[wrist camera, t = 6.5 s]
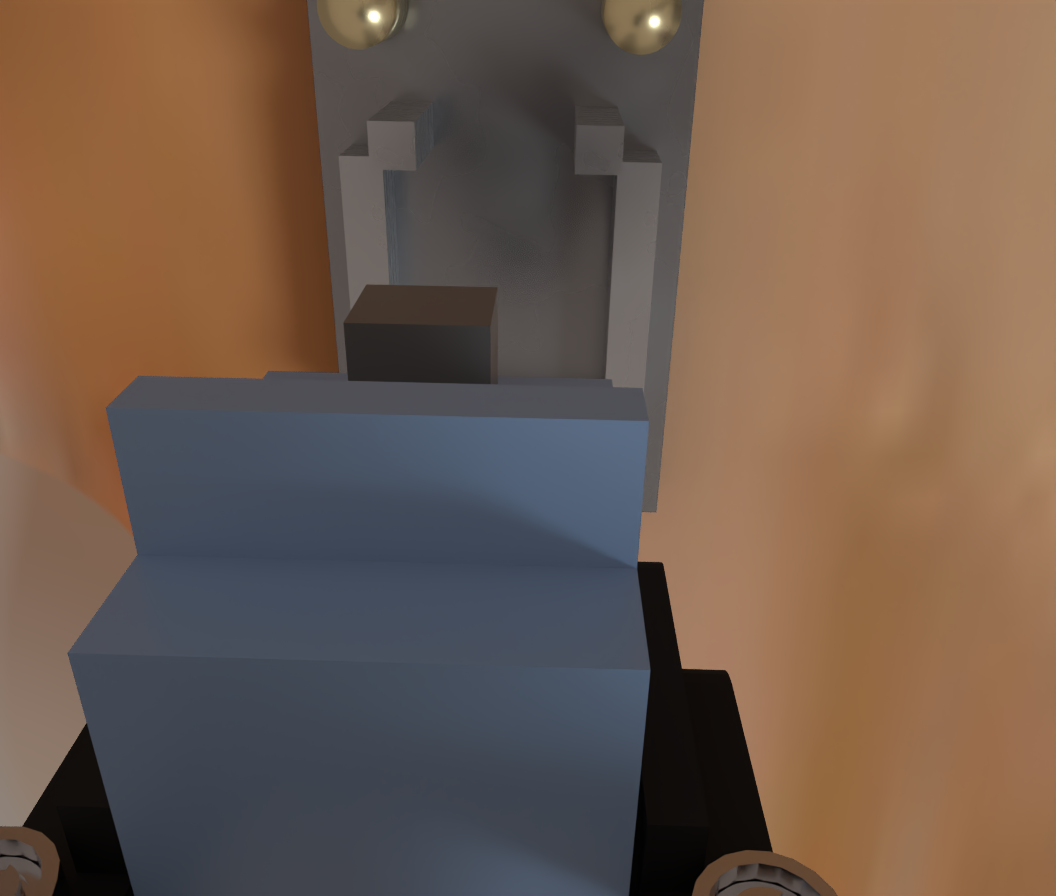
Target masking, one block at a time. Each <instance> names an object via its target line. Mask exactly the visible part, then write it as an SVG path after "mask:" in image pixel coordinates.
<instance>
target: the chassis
mask: <svg viewBox="0 0 1056 896" xmlns="http://www.w3.org/2000/svg"><path fill="white" fill-rule="evenodd" d="M703 4H704V0H307V6H308V18H309V30H310V41H311V53H312V64H313V76H314V88H315V99H316V111H317V122H318V134H319V145H320V157H321V169H322V180H323V192H324V203H325V215H326V227H327V238H328V250H329V261H330V273H331V285H332V296H333V308H334V319H335V331H336V343H337V354H338V366H339V373H347V361H346V349H345V337H344V325H343V323H344V321H345V319H346V318H347V316H348V314H349V313H350V311H351V309H352V308H353V306H354V304H355V303H356V301H357V299H358V298H359V296H360V294H361V293H362V291H363V289H364V288H365V286H366V284H373V285H419V286H465V287H498V377H538V378H580V379H612V384H613V387H625V388H643V393H644V398H645V403H646V408H647V413H648V418H649V428H648V441H647V453H646V465H645V477H644V489H643V501H642V512H656V510H657V499H658V488H659V478H660V467H661V456H662V445H663V435H664V424H665V413H666V402H667V392H668V381H669V370H670V359H671V348H672V338H673V327H674V316H675V305H676V295H677V284H678V273H679V262H680V252H681V241H682V230H683V219H684V208H685V198H686V187H687V176H688V165H689V155H690V144H691V133H692V122H693V112H694V101H695V90H696V79H697V68H698V58H699V47H700V36H701V25H702V15H703Z"/></svg>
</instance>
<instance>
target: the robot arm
mask: <svg viewBox="0 0 1056 896" xmlns="http://www.w3.org/2000/svg"><path fill="white" fill-rule="evenodd" d="M637 572H638V580H639V587H640V595H641V602H642V610H643V618H644V625H645V633H646V640H647V648H648V655H649V663H650V680H649V691H648V701H647V712H646V722H645V732H644V743H643V753H642V763H641V774H640V784H639V795H638V805H637V815H636V826H635V836H634V847H633V857H632V867H631V878H630V888H629V896H838V895H837V894H836V892H835V891H834V889H833V888H832V887H831V886H830V885H829V884H827V883H826V882H825V881H824V880H823V879H822V878H821V877H820V876H819V875H818V874H817V873H816V872H815V871H813V870H811V869H810V868H808V867H806V866H805V865H803V864H801V863H799V862H798V861H796V860H794V859H792V858H789V857H786V856H783V855H779V854H776V853H773V851H772V847H771V843H770V839H769V834H768V830H767V826H766V822H765V818H764V814H763V810H762V806H761V802H760V797H759V793H758V789H757V785H756V781H755V777H754V773H753V769H752V765H751V761H750V756H749V752H748V748H747V744H746V740H745V736H744V732H743V728H742V724H741V719H740V715H739V711H738V707H737V703H736V699H735V695H734V691H733V687H732V683H731V680H730V677H729V674H728V673H727V672H726V670H700V669H682V667H681V661H680V656H679V650H678V644H677V639H676V633H675V627H674V622H673V616H672V611H671V605H670V599H669V594H668V588H667V582H666V577H665V571H664V566H663V563H662V562H637ZM0 896H134V893H133V889H132V886H131V882H130V878H129V875H128V871H127V867H126V864H125V860H124V856H123V853H122V849H121V845H120V842H119V838H118V835H117V831H116V827H115V824H114V820H113V816H112V813H111V809H110V805H109V802H108V798H107V795H106V791H105V787H104V784H103V780H102V776H101V773H100V769H99V765H98V762H97V758H96V755H95V751H94V747H93V744H92V740H91V736H90V733H89V729H88V725H87V723H86V725H85V727H84V728H83V730H82V731H81V733H80V734H79V736H78V738H77V739H76V741H75V743H74V744H73V746H72V747H71V749H70V751H69V752H68V754H67V755H66V757H65V759H64V760H63V762H62V764H61V765H60V767H59V768H58V770H57V772H56V773H55V775H54V776H53V778H52V780H51V781H50V783H49V784H48V786H47V788H46V789H45V791H44V792H43V794H42V796H41V797H40V799H39V800H38V802H37V804H36V805H35V807H34V808H33V810H32V812H31V813H30V815H29V817H28V818H27V820H26V821H25V823H24V825H23V826H22V827H6V826H4V827H2V826H0Z"/></svg>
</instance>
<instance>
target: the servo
mask: <svg viewBox="0 0 1056 896" xmlns="http://www.w3.org/2000/svg"><path fill="white" fill-rule="evenodd" d="M343 325H344V337H345V349H346V361H347V373H326V372H284V371H268V372H267V374H266V375H265V377H264V378H263V379H247V378H205V377H163V376H138V377H137V378H136V379H135V380H134V381H133V382H132V383H131V384H130V385H129V386H128V387H127V388H126V389H125V390H124V391H122V392H121V393H120V394H119V395H118V396H117V397H116V398H115V399H114V400H113V401H112V402H111V403H110V404H109V405H108V406H107V407H106V411H107V416H108V420H109V425H110V429H111V434H112V439H113V443H114V448H115V453H116V457H117V462H118V466H119V471H120V476H121V480H122V485H123V489H124V494H125V499H126V503H127V508H128V513H129V517H130V522H131V526H132V531H133V536H134V540H135V545H136V549H137V554H138V555H137V556H136V558H135V559H134V561H133V562H132V563H131V565H130V566H129V568H128V569H127V570H126V572H125V573H124V575H123V576H122V578H121V579H120V580H119V582H118V583H117V585H116V586H115V587H114V589H113V590H112V592H111V593H110V594H109V596H108V597H107V599H106V600H105V601H104V603H103V604H102V606H101V607H100V608H99V610H98V611H97V613H96V614H95V615H94V617H93V618H92V620H91V621H90V623H89V624H88V625H87V627H86V628H85V629H84V631H83V632H82V634H81V635H80V636H79V638H78V639H77V641H76V642H75V643H74V645H73V646H72V648H71V649H70V651H69V652H68V656H69V660H70V664H71V667H72V671H73V674H74V678H75V682H76V685H77V689H78V692H79V696H80V700H81V704H82V707H83V711H84V714H85V718H86V722H87V725H88V729H89V733H90V736H91V740H92V744H93V747H94V751H95V755H96V758H97V762H98V765H99V769H100V773H101V776H102V780H103V784H104V787H105V791H106V795H107V798H108V802H109V805H110V809H111V813H112V816H113V820H114V824H115V827H116V831H117V835H118V838H119V842H120V845H121V849H122V853H123V856H124V860H125V864H126V867H127V871H128V875H129V878H130V882H131V886H132V889H133V893H134V896H629V888H630V878H631V867H632V857H633V847H634V836H635V826H636V815H637V805H638V795H639V784H640V774H641V763H642V753H643V743H644V732H645V722H646V712H647V701H648V691H649V680H650V663H649V655H648V648H647V640H646V633H645V625H644V618H643V610H642V602H641V595H640V587H639V580H638V572H637V562H638V550H639V538H640V526H641V513H642V501H643V489H644V477H645V465H646V453H647V441H648V428H649V418H648V413H647V408H646V403H645V398H644V393H643V388H625V387H613V384H612V379H580V378H538V377H498V287H465V286H419V285H373V284H366V286H365V288H364V289H363V291H362V293H361V294H360V296H359V298H358V299H357V301H356V303H355V304H354V306H353V308H352V309H351V311H350V313H349V314H348V316H347V318H346V319H345V321H344V323H343Z"/></svg>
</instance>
